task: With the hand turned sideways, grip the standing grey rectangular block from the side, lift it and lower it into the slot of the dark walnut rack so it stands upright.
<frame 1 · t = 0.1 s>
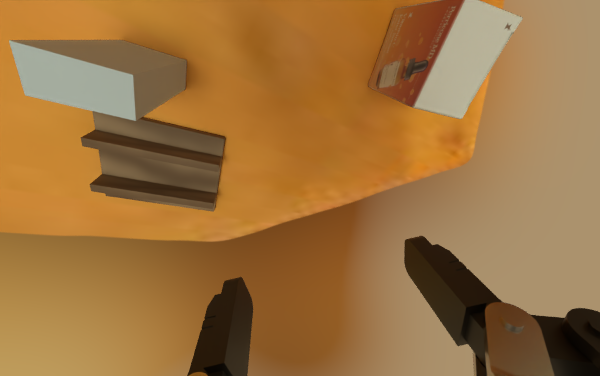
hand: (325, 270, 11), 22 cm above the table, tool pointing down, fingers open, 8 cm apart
rack: (165, 165, 30), on the table
small box: (398, 56, 27), on the table
grey rectangular block: (155, 66, 24), on the table
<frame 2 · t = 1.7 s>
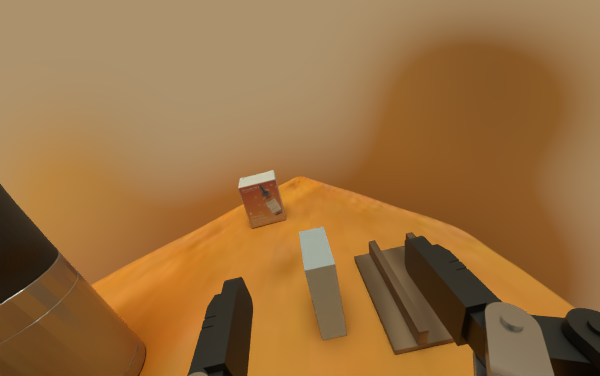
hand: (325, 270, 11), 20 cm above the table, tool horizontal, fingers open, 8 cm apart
rack: (413, 288, 31), on the table
small box: (268, 218, 53), on the table
grey rectangular block: (329, 314, 30), on the table
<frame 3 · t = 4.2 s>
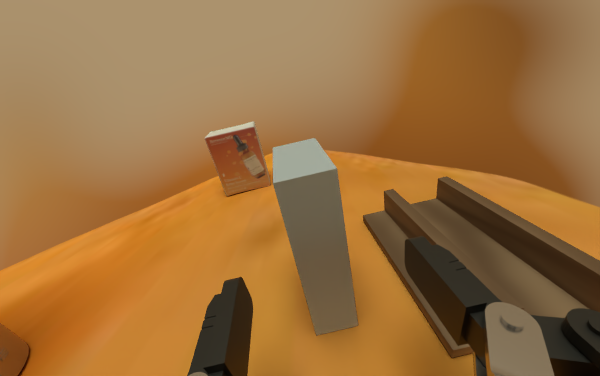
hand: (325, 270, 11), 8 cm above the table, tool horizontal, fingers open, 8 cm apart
rack: (460, 251, 19), on the table
small box: (249, 186, 42), on the table
grey rectangular block: (327, 293, 18), on the table
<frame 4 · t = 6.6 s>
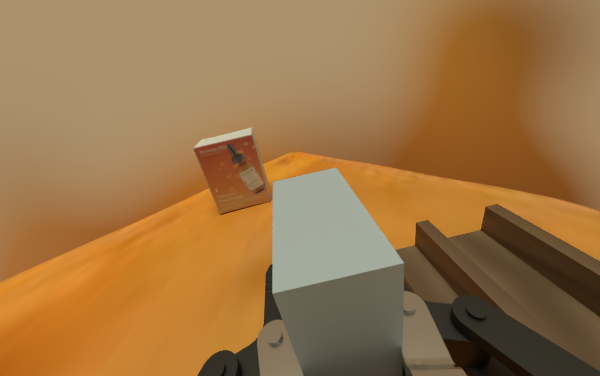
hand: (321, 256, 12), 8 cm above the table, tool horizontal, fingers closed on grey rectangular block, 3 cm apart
rack: (532, 317, 14), on the table
small box: (247, 200, 36), on the table
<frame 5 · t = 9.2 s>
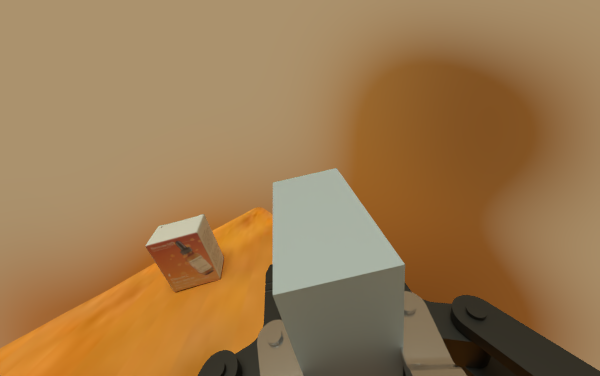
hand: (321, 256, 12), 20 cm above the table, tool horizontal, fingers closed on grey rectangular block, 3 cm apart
small box: (202, 274, 41), on the table
when the fingers open (10 cm above the table, at t = 12.2 s): grey rectangular block drops 1 cm, resting on rack.
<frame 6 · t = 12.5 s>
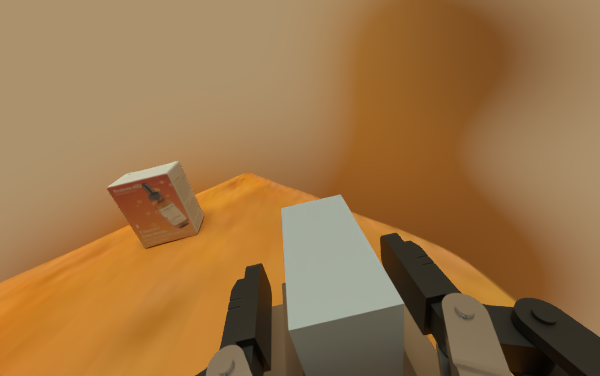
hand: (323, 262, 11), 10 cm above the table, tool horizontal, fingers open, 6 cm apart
small box: (178, 232, 36), on the table
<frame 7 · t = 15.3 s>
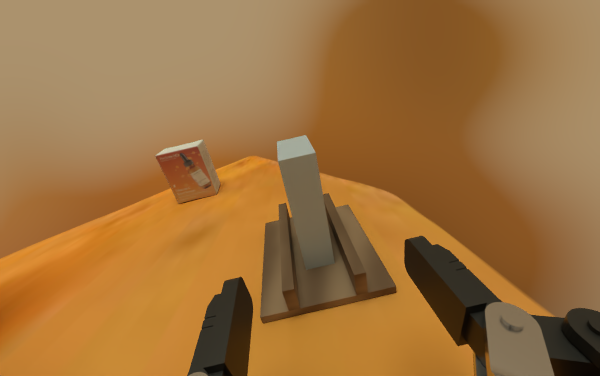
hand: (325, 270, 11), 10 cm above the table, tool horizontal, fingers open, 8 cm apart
rack: (316, 252, 26), on the table
small box: (201, 194, 48), on the table
grey rectangular block: (315, 246, 26), point 1 cm above the table, touching rack
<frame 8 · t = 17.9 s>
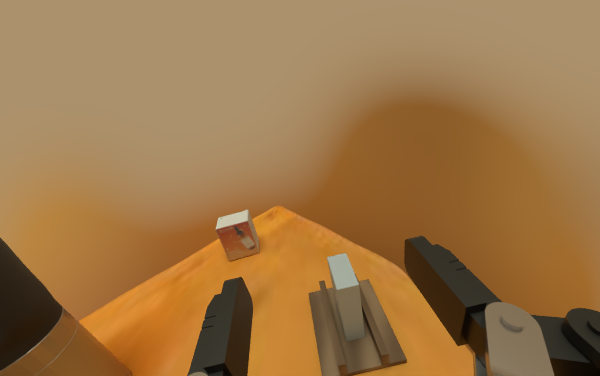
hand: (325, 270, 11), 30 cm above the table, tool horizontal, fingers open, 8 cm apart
rack: (349, 323, 38), on the table
small box: (245, 251, 60), on the table
grey rectangular block: (349, 320, 38), point 1 cm above the table, touching rack
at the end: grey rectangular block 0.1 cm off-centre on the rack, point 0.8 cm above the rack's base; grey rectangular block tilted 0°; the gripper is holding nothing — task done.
